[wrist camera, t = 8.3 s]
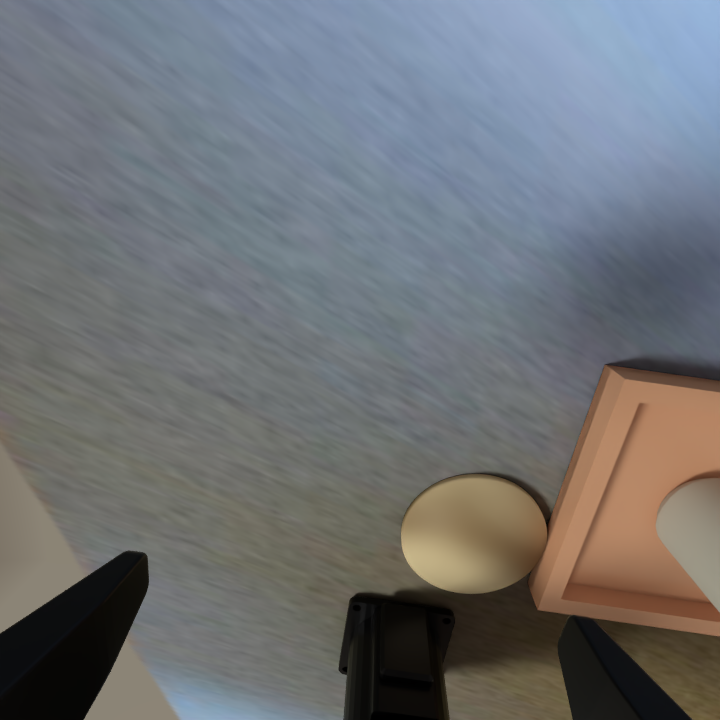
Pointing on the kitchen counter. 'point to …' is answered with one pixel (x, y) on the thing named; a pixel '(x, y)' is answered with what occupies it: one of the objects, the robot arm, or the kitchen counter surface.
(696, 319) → the kitchen counter surface
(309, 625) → the kitchen counter surface
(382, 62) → the kitchen counter surface
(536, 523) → the cork coaster
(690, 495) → the beverage can
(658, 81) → the kitchen counter surface
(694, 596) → the tray
